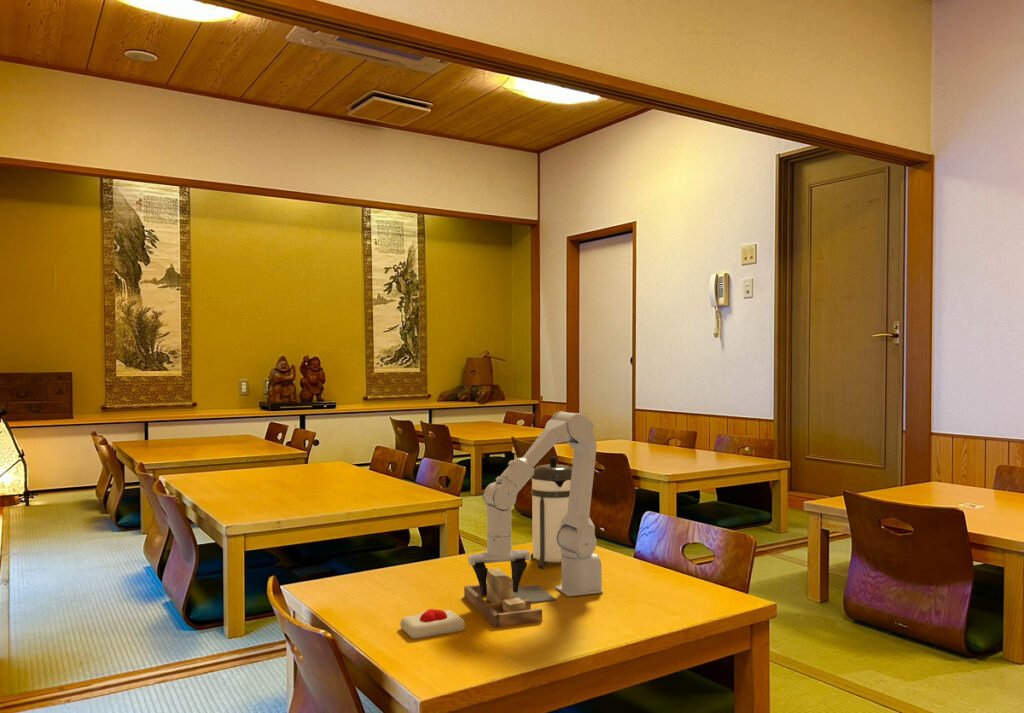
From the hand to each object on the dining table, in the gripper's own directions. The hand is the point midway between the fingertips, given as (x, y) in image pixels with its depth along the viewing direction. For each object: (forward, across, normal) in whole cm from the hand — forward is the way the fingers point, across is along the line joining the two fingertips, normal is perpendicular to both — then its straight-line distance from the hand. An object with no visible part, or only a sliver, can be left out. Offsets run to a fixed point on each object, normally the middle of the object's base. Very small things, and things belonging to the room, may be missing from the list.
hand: (499, 593), depth 179 cm
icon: (+3, +19, +10) cm, 22 cm away
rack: (+3, 0, +3) cm, 4 cm away
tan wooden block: (+3, 0, 0) cm, 3 cm away
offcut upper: (+1, 0, +10) cm, 10 cm away
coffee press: (+3, -26, -31) cm, 41 cm away
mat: (+2, -9, -4) cm, 10 cm away
